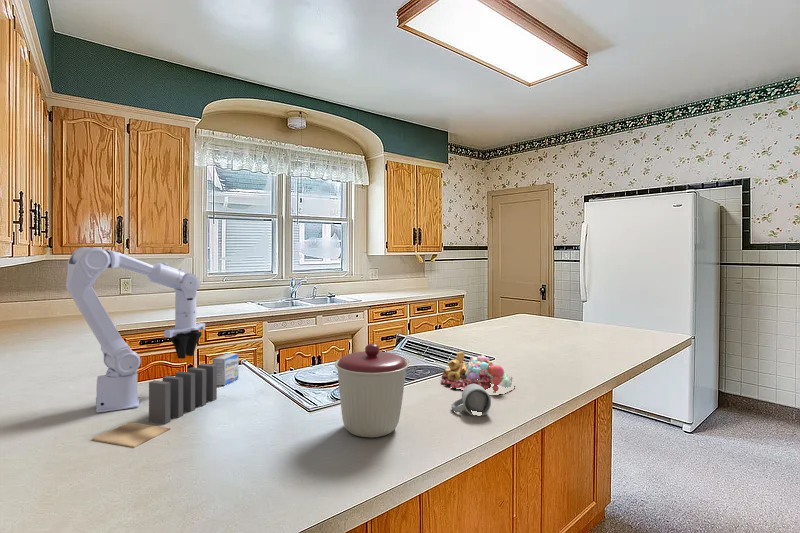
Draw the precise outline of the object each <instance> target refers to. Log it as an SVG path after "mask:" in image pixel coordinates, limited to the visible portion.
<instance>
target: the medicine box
mask: <svg viewBox="0 0 800 533" xmlns="http://www.w3.org/2000/svg"><path fill="white" fill-rule="evenodd" d="M212 365H217V386H221V385H224V387H225V385H226V386H227V384H228V385H230V384H231V383H234V382H235V381H236V380H237V381H238V379H239V354H238V353H233V352H227V353H224V354H222V355H219V356H217V357H214V358H212Z"/></svg>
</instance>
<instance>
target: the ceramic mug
mask: <svg viewBox="0 0 800 533" xmlns="http://www.w3.org/2000/svg"><path fill="white" fill-rule="evenodd" d="M491 407H492V400H491V396H489V394H488V393H487V392H486V391H485V389H484V388H483V387H482V386H480V385H478V384H470V385H467V386H466V387H465V388H464V390H463V391H462V392H461V398H459V399H457V400H455V401H453V402H452V404H451V405H450V408H451V410H452V411H455V412H454V413H460V412H463V411H466V413H467V414H469V415H470V416H472V415H473V414H472V412H471V410H472V411H477V412H482V416H485V415H486V414H487V413H488V412H489V410H490V409H491Z"/></svg>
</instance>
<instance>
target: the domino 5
mask: <svg viewBox="0 0 800 533" xmlns="http://www.w3.org/2000/svg"><path fill="white" fill-rule="evenodd" d="M197 368H202V369H206V402H207V401H208V402H214V401H217V394H218V390H217V389H218V387H217V386H218V385H217V365H213V364H210V363H209V364H208V363H200V364H198V366H197Z"/></svg>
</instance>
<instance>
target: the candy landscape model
mask: <svg viewBox="0 0 800 533" xmlns="http://www.w3.org/2000/svg"><path fill="white" fill-rule="evenodd" d="M465 355H466V354H465V353H464V352H463V351H458V352H457V353H456V355H455V356H456V357H455V358H454V359H453V358H452V359H451V360H449V361H448V363H447V366H448V367H449V368H447V367H446V368H445V369H444V370H443V372H442V375H441V378H440V383H442V382H443V383H442V384H443V386H447V385H450V384H451V385H450V386H449V388H450V387H452V388H461V389H464V388H465V387H466V386H467V385H470V384H478V385H480V386H482V387H483V388H484V389H485V390H486V389H488V388H490V387H491V384H494V386H493V387H492V388H493V390H494V391H493V393H496V391H498V390H499V387H498V386H497V385H499V386H502V387H505V388H506V387H507V388H508V387H511V385H512V382H513V375H511V376H509V375H508V374H507V373H506V372H505V370H504V369H503V367H502V366H500V365H495V364H493V363H492V361H490V358H489V357H488V356H487V357H486V356H485V355H484V354H482V355H480V356H479V355H478V356H477V357H476V356H473V357H472V356H470V358H469V359H470V360H469V361H468V363H467V361H466V362H465V361H464V359H465ZM477 379H478V380H477ZM490 383H491V384H490ZM452 388H451V389H452Z"/></svg>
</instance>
